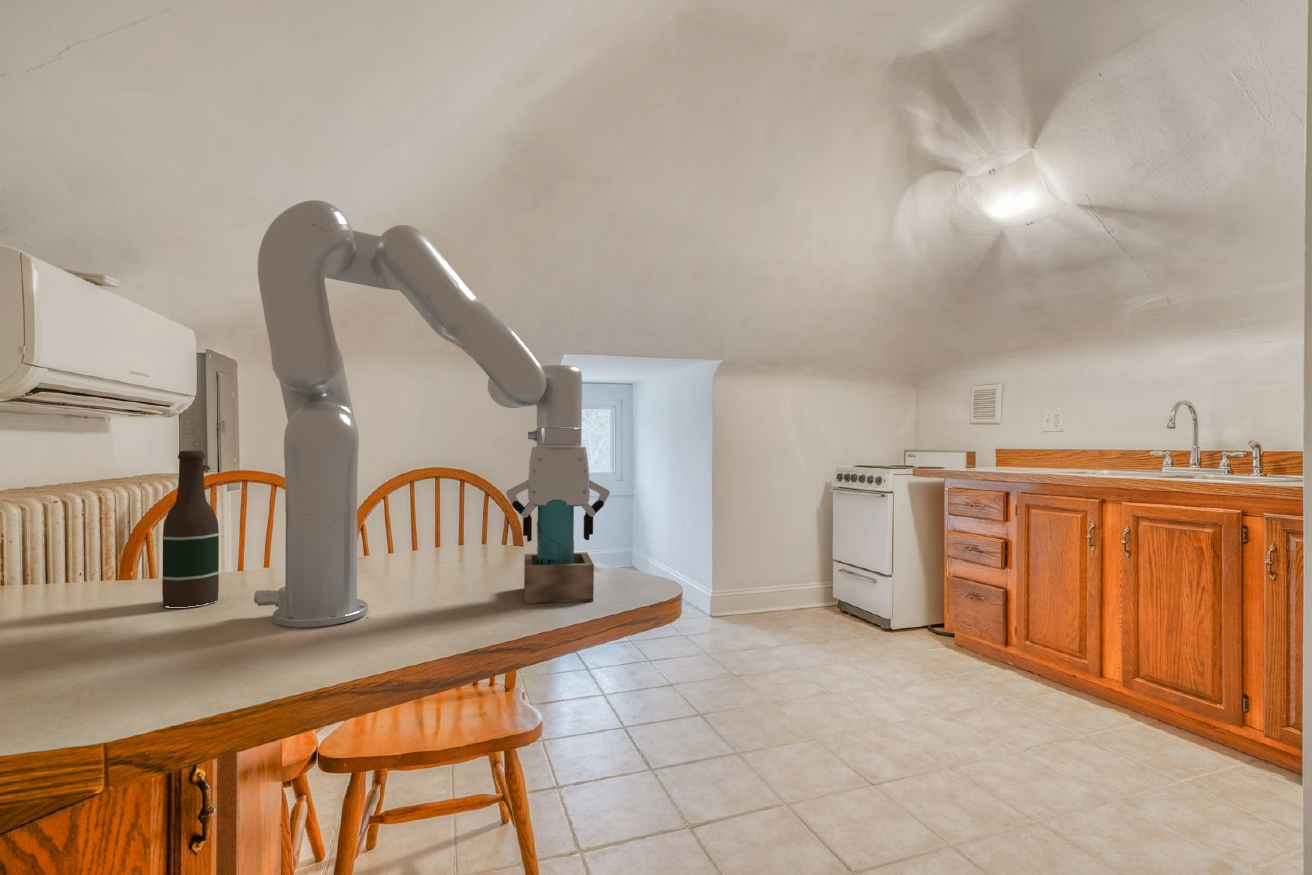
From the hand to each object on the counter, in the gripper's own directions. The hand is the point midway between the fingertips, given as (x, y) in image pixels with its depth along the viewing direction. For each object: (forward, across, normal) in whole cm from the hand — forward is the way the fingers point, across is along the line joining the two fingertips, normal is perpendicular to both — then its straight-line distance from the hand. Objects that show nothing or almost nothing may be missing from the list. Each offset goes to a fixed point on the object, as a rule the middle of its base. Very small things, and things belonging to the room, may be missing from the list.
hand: (558, 539), depth 115 cm
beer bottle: (+10, -57, +3) cm, 58 cm away
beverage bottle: (+9, 0, 0) cm, 9 cm away
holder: (+9, 0, 0) cm, 9 cm away
